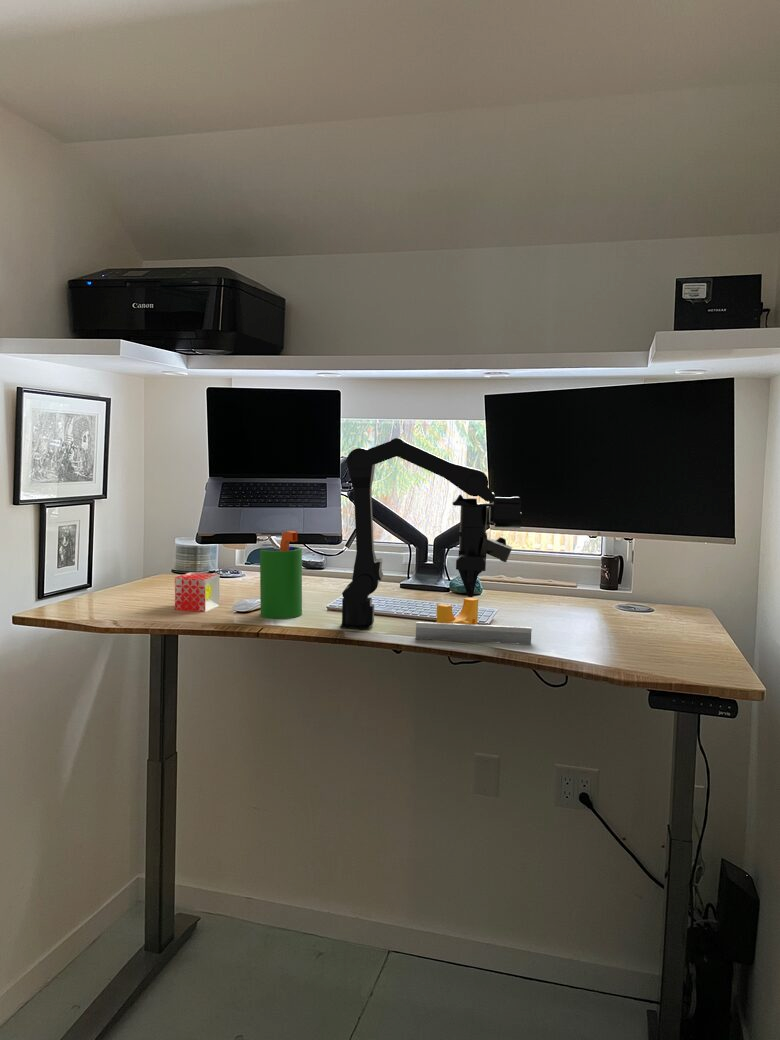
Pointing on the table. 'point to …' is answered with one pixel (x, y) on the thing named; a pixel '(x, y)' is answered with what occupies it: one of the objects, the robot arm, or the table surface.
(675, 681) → the table surface
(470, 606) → the pipe clamp
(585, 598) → the table surface
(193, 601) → the puzzle cube
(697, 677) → the table surface
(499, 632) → the rail
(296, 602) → the cup with straw
